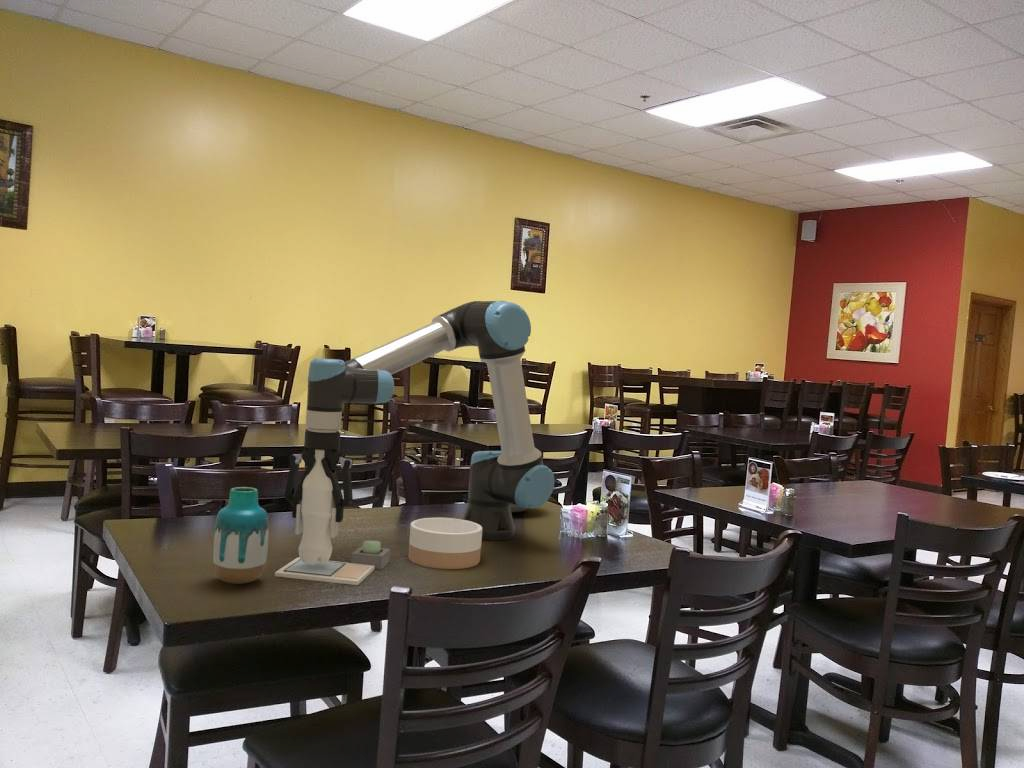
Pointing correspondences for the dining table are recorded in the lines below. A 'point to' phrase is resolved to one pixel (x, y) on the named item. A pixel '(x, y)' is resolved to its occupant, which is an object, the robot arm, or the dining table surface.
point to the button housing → (371, 558)
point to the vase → (241, 538)
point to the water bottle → (316, 514)
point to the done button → (371, 547)
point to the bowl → (445, 543)
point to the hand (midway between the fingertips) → (316, 534)
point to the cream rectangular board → (326, 571)
